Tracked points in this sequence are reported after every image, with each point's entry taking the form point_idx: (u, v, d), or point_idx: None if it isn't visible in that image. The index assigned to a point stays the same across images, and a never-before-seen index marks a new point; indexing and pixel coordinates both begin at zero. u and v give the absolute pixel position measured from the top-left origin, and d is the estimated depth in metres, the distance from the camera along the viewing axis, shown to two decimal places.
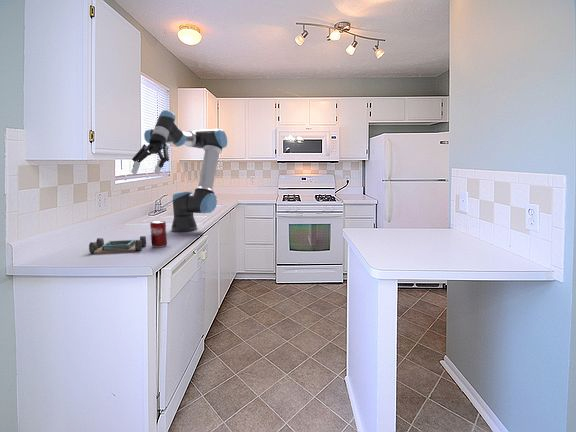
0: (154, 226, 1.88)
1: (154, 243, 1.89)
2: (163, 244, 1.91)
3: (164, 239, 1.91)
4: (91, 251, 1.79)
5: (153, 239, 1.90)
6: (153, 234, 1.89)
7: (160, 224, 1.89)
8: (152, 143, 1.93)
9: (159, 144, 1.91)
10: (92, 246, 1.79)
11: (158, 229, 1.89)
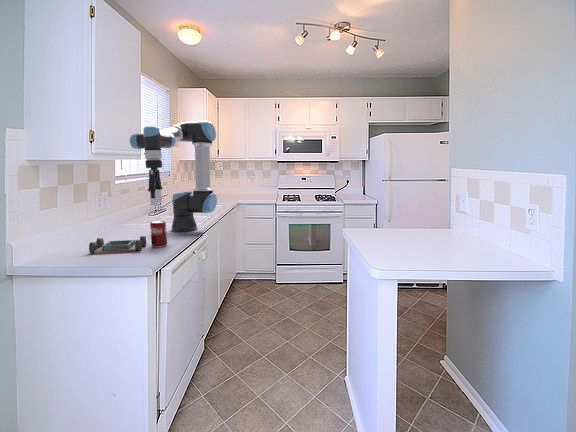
0: (154, 226, 1.88)
1: (154, 243, 1.89)
2: (163, 244, 1.91)
3: (164, 239, 1.91)
4: (91, 251, 1.79)
5: (153, 239, 1.90)
6: (153, 234, 1.89)
7: (160, 224, 1.89)
8: None
9: None
10: (92, 246, 1.79)
11: (158, 229, 1.89)
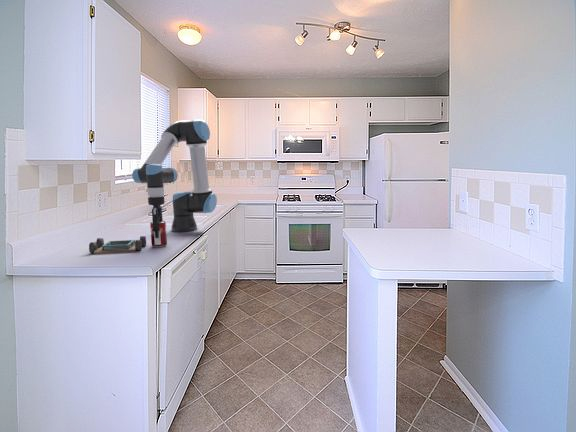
0: None
1: (154, 243, 1.89)
2: (163, 244, 1.91)
3: (164, 239, 1.91)
4: (91, 251, 1.79)
5: (153, 239, 1.90)
6: (153, 234, 1.89)
7: (160, 224, 1.89)
8: None
9: (153, 208, 1.87)
10: (92, 246, 1.79)
11: None
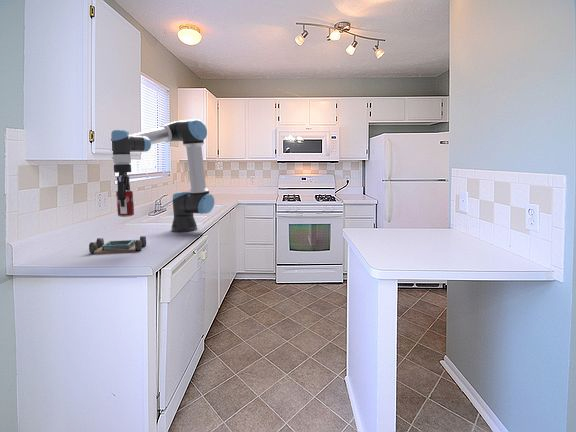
0: None
1: (120, 212, 1.83)
2: (130, 213, 1.84)
3: (131, 208, 1.84)
4: (91, 251, 1.79)
5: (119, 209, 1.83)
6: (119, 203, 1.82)
7: (126, 192, 1.82)
8: None
9: None
10: (92, 246, 1.79)
11: None
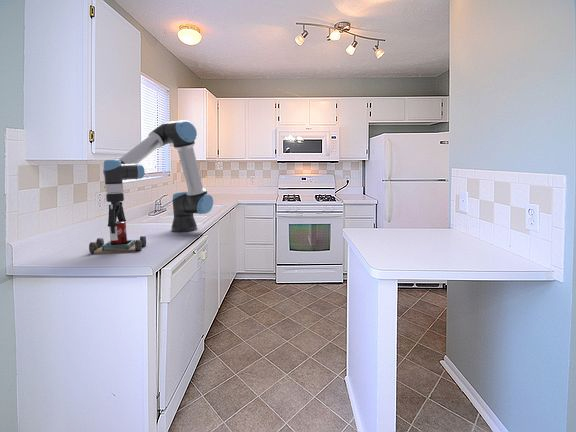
0: None
1: (113, 244, 1.84)
2: None
3: (124, 240, 1.85)
4: (91, 251, 1.79)
5: None
6: None
7: (119, 224, 1.83)
8: None
9: None
10: (92, 246, 1.79)
11: (117, 230, 1.83)
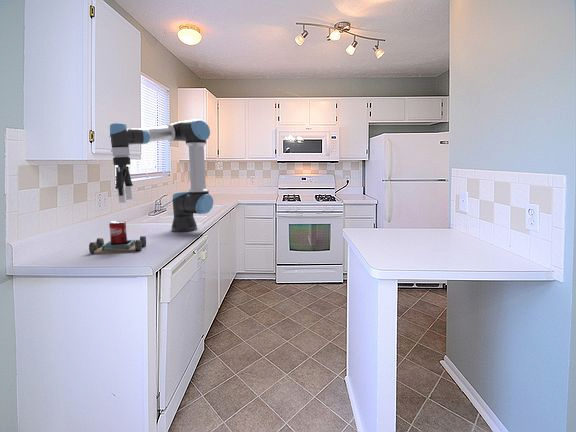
0: (113, 226, 1.83)
1: (113, 244, 1.84)
2: None
3: (124, 240, 1.85)
4: (91, 251, 1.79)
5: (112, 240, 1.84)
6: (112, 234, 1.83)
7: (119, 224, 1.83)
8: None
9: None
10: (92, 246, 1.79)
11: (117, 230, 1.83)
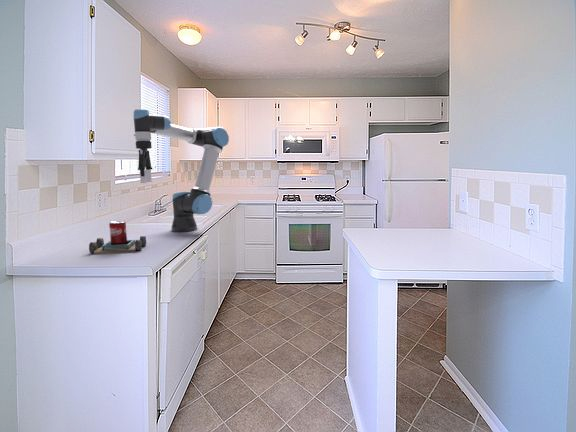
0: (113, 226, 1.83)
1: (113, 244, 1.84)
2: None
3: (124, 240, 1.85)
4: (91, 251, 1.79)
5: (112, 240, 1.84)
6: (112, 234, 1.83)
7: (119, 224, 1.83)
8: None
9: None
10: (92, 246, 1.79)
11: (117, 230, 1.83)
